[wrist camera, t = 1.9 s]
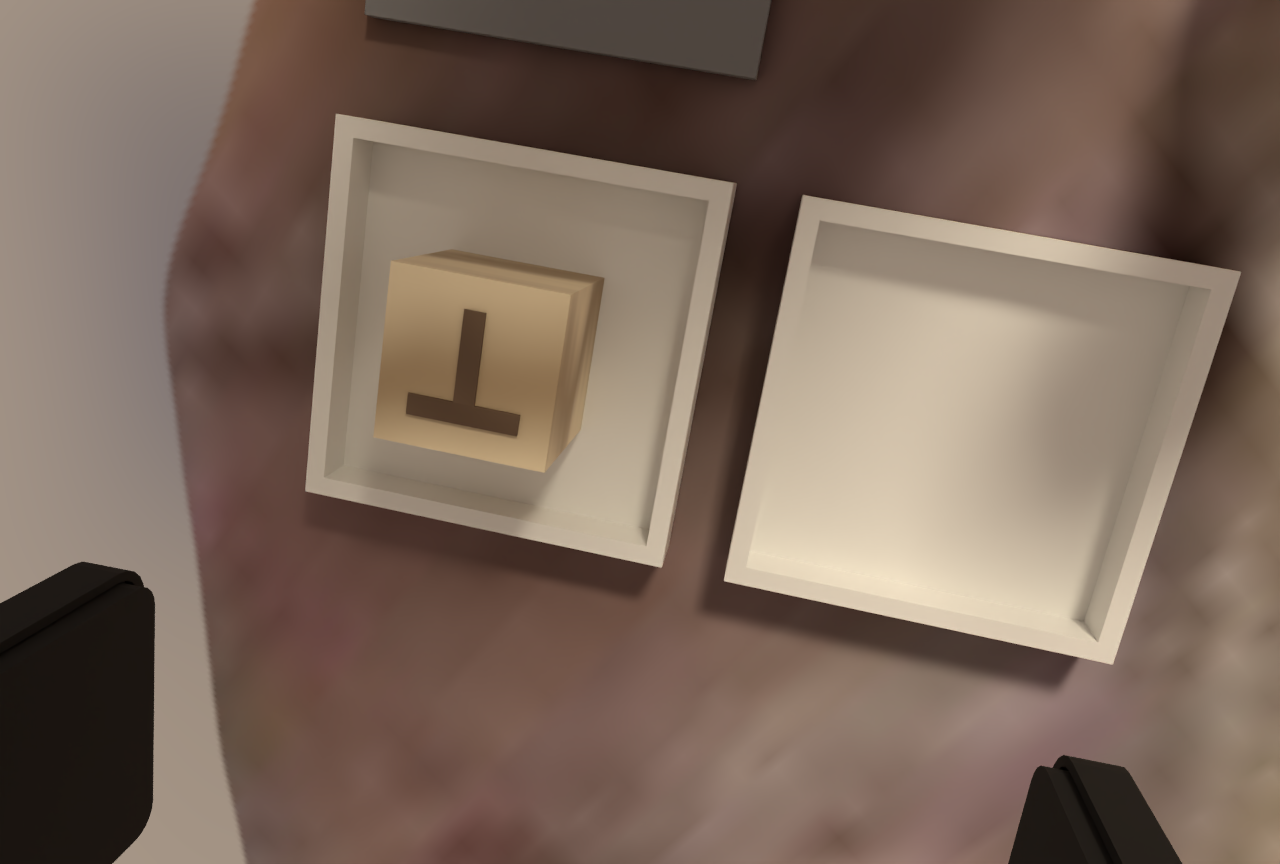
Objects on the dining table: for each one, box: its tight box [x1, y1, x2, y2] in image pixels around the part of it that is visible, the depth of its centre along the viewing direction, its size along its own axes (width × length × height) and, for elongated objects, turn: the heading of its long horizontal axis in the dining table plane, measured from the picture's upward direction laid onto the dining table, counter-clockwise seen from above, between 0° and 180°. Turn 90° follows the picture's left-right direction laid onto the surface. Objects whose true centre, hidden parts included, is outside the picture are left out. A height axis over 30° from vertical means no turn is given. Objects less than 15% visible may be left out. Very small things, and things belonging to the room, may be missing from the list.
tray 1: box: [305, 114, 737, 568], centre depth 31 cm, size 12×12×2 cm
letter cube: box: [373, 249, 605, 473], centre depth 29 cm, size 5×5×5 cm
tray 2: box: [724, 195, 1241, 664], centre depth 30 cm, size 12×12×2 cm
